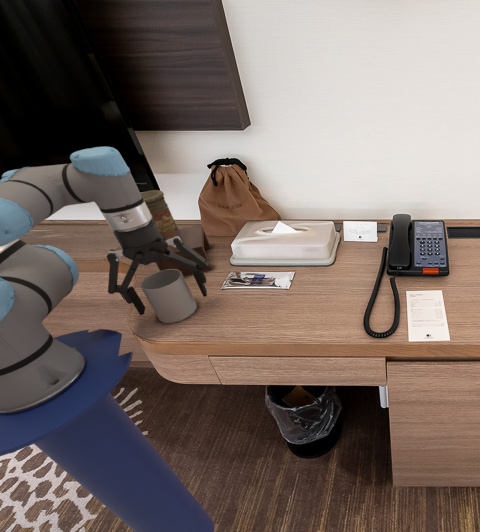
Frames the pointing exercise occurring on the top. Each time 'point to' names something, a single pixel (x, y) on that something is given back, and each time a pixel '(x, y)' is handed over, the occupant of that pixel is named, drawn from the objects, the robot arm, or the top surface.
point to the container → (159, 210)
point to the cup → (169, 295)
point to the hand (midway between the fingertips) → (175, 302)
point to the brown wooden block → (193, 239)
